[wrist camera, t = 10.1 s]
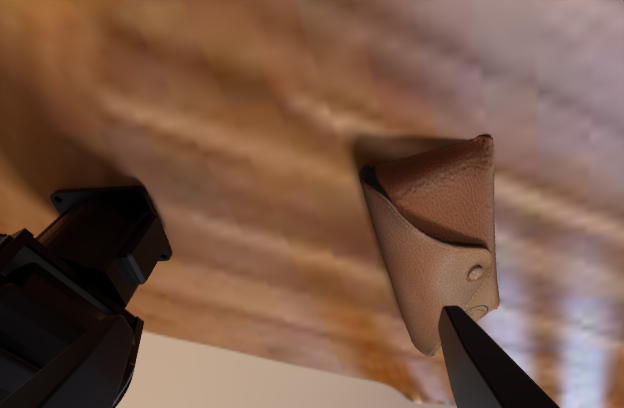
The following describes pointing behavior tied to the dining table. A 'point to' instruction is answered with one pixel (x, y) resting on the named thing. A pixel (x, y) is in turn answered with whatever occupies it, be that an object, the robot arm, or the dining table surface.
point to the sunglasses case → (437, 233)
